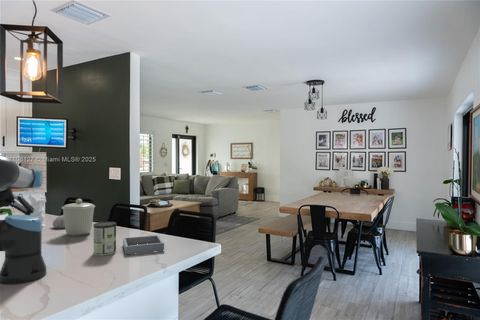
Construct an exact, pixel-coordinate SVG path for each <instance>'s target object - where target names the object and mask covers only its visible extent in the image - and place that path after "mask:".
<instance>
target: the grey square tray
mask: <svg viewBox="0 0 480 320" xmlns="http://www.w3.org/2000/svg"><path fill="white" fill-rule="evenodd" d="M156 242H157V243H156ZM147 243H151V244H147ZM137 244H143V245H137ZM128 245H129V246H128ZM122 247H123V250H124V255H125V256H128V255H127V254H132V255H136V254H135V253H141V254H146V253H145V252H151V253H155V252H154V251H161V252H164V251H165V242H164V241H163V240H162V238H161V237H160V235H159V234H155V235H143V236H141V235H140V236H131V237H123V238H122ZM163 250H164V251H163Z"/></svg>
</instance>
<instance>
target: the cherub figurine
mask: <svg viewBox="0 0 480 320" xmlns="http://www.w3.org/2000/svg"><path fill="white" fill-rule="evenodd" d="M28 200H29V201H30V203H31V204H30V205H31V206H32V207H33V208H34V212H33V213H30V215H31V216H36V217H38V218H40V219H41V225H42V228H44V227H45V224H44V223H45V222H44V220H45V215H44V213H45V209H44V205H45V203H47V198H46V196H45V195H41V194H40V195H38V196H35V195H32V194H29V195H28Z"/></svg>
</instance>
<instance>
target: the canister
mask: <svg viewBox="0 0 480 320" xmlns="http://www.w3.org/2000/svg"><path fill="white" fill-rule="evenodd" d="M95 208H96V205H94V203H89V202H83V199H82V198H77V199H76V200H75V203H74V202H73V203H69V204H64V205H63V206H61V209H62V210H63V211H62V213H63V214H62V215H64V223H65V228H64V230H65V233H66V235H67V236H68V235H69V236H71V237H72V236H73V237H74V236H77V237H78V236H85V235H87V234H89V233H90V232H91V230H92V227H93V222H94V214H95V213H94V211H95Z"/></svg>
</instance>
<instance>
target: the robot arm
mask: <svg viewBox="0 0 480 320" xmlns="http://www.w3.org/2000/svg"><path fill="white" fill-rule="evenodd" d="M43 181H44V175H43V171H42V170H41V169H37V168H36V169H35V168H25V167H23V166H20V165H18V164H17V163H16V162H15V160H13V159H11V158H9V157H6V156H4V155H3V154H2V153H1V152H0V208H4V207H11V208H13V209H14V208H15V210H17V211H19V212H21V213H22V214H11V215H7V216H5V218H4V219H0V252H4V260H3V264H2V265H1V268H0V283H1V284H6V285H7V284H8V285H14V284H23V283H28V282H29V283H30V282H32V281H35V280H39V279H41V278H43V277H45V276H46V275H47V266H46V263H45V260H44V257H43V256H42V243H43V242H42V236H43V235H42V233H43V232H42V231H43V227H42V225H41V219H40V218H38V217H36V216H31V215H30V213H33V212H34V208H33V207H32V206H31V204H30V203H29V202H28V201H27V200H26V198H24V196H23V194H22V193H19V194H18V195H14V193H13V189H35V188H36V189H38V188H41V187H42V185H43ZM18 202H19V203H18Z"/></svg>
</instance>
